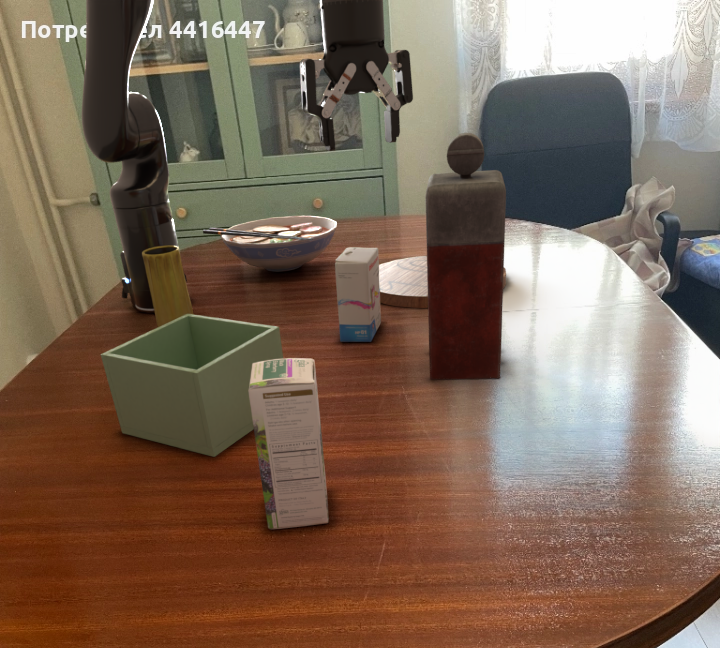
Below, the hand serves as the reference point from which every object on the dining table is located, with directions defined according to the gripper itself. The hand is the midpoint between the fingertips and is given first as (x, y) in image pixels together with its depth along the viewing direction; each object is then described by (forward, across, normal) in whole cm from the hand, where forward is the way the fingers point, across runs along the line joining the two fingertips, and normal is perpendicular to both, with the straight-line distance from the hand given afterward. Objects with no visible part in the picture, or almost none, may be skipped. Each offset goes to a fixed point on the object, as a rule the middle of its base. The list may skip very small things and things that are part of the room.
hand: (360, 146), depth 95 cm
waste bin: (+26, +28, +16) cm, 41 cm away
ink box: (+26, +1, -2) cm, 26 cm away
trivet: (+26, -18, -18) cm, 36 cm away
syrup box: (+26, +24, +41) cm, 54 cm away
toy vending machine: (+26, -7, +16) cm, 31 cm away
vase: (+26, +27, -12) cm, 39 cm away
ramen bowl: (+26, +1, -45) cm, 52 cm away
